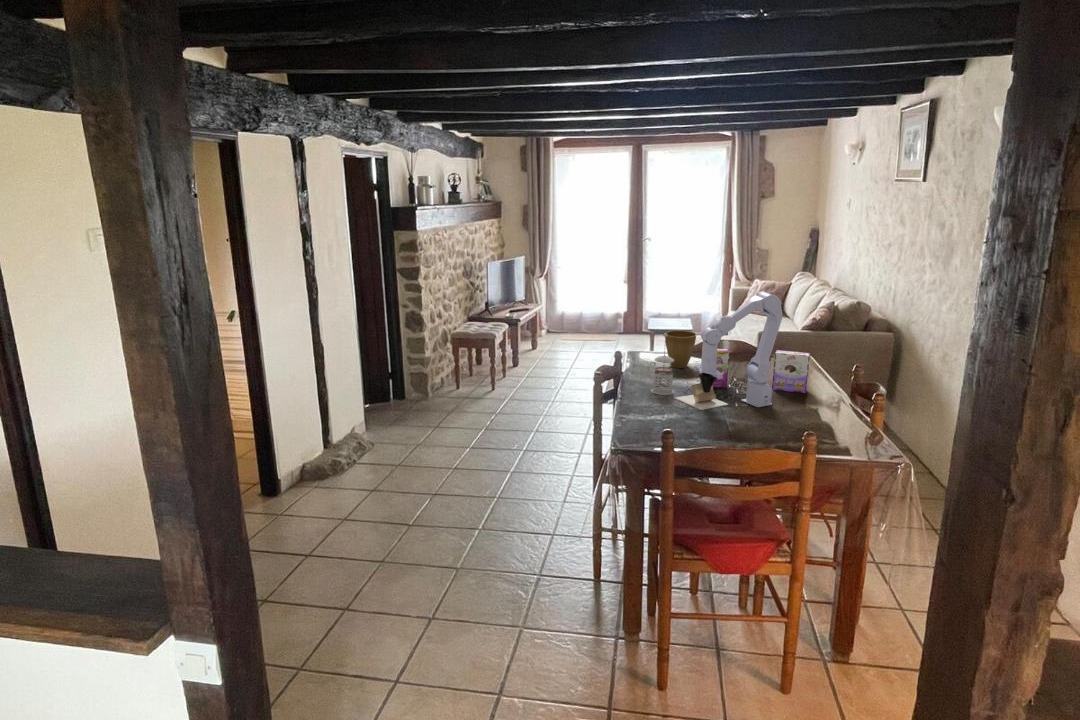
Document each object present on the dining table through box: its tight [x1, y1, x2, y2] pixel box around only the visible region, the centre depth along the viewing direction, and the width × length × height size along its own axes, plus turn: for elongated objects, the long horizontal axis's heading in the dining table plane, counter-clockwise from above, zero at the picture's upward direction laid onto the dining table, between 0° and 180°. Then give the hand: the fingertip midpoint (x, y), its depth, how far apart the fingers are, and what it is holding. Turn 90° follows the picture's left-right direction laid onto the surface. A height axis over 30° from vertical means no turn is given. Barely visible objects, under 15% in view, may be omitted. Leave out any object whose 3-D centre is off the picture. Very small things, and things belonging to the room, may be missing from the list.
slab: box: [690, 382, 717, 403], centre depth 267 cm, size 3×8×7 cm, turn 117°
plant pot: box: [664, 330, 697, 369], centre depth 321 cm, size 15×15×16 cm
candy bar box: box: [699, 348, 731, 388], centre depth 288 cm, size 11×5×16 cm, turn 84°
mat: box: [674, 394, 729, 411], centre depth 269 cm, size 16×14×1 cm
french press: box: [646, 332, 675, 396], centre depth 280 cm, size 10×12×25 cm
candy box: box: [771, 349, 811, 394], centre depth 284 cm, size 14×6×16 cm, turn 65°
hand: (706, 391), depth 265 cm, fingers closed
